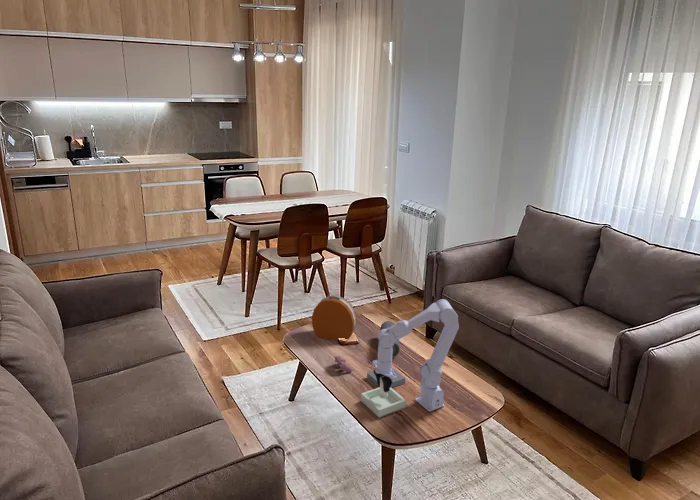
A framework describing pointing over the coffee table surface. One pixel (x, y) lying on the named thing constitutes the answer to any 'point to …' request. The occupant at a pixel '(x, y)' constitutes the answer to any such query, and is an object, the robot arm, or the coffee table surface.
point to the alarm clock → (334, 318)
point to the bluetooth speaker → (396, 345)
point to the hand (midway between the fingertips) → (383, 388)
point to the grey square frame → (399, 381)
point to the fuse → (382, 390)
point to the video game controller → (342, 364)
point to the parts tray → (383, 402)
